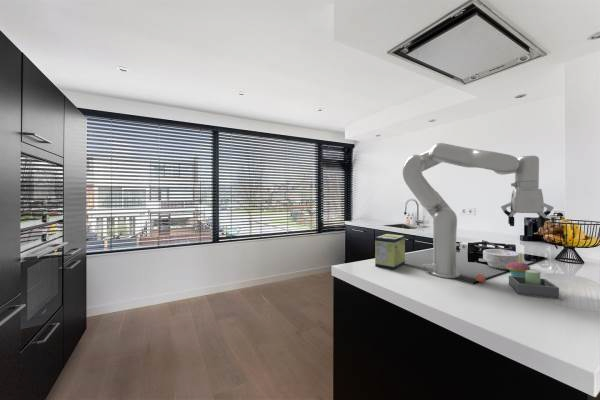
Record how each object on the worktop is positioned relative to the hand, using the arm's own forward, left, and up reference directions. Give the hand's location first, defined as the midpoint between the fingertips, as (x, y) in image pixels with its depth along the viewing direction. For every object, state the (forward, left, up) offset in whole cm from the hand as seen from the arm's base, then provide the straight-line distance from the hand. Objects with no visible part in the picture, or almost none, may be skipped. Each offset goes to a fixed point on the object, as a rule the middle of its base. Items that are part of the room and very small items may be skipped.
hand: (525, 226), depth 112 cm
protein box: (-55, +10, -25) cm, 61 cm away
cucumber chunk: (-1, -10, -24) cm, 26 cm away
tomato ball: (-17, -5, -24) cm, 30 cm away
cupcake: (0, +8, -24) cm, 26 cm away
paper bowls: (-2, +25, -25) cm, 35 cm away
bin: (-1, -10, -24) cm, 26 cm away
